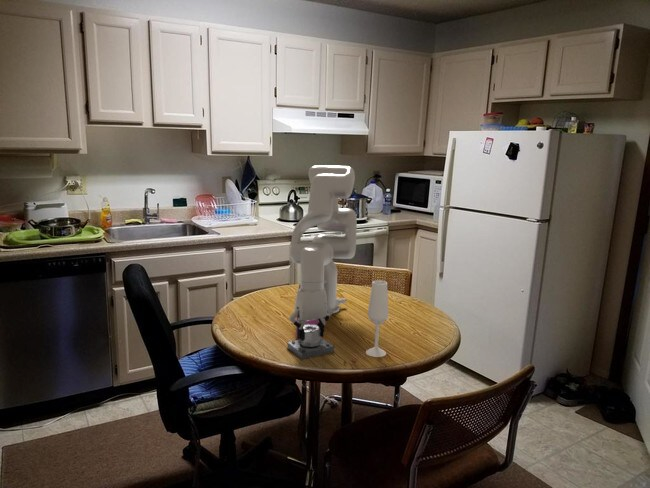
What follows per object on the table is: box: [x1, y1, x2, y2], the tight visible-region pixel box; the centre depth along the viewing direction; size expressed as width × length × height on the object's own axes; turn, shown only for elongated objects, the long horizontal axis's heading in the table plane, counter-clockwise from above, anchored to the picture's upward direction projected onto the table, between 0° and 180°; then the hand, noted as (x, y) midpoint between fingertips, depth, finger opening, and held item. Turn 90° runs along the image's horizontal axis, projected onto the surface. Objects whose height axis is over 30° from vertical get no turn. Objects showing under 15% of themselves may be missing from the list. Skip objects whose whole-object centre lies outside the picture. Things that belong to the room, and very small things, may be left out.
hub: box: [298, 324, 322, 347], centre depth 157 cm, size 7×7×5 cm
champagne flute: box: [365, 280, 389, 358], centre depth 155 cm, size 7×7×24 cm
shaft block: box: [286, 329, 335, 360], centre depth 157 cm, size 12×10×7 cm
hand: (310, 336), depth 157 cm, fingers closed on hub, 6 cm apart
